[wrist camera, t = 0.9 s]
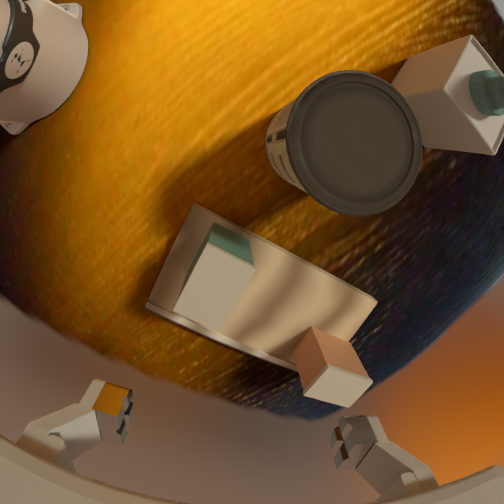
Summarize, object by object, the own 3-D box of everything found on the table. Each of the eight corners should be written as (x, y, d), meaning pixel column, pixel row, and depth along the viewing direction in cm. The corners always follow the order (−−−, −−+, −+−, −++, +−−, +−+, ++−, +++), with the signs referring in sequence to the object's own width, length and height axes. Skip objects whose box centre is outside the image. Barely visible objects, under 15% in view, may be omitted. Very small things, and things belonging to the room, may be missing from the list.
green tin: (185, 273, 34) (172, 310, 26) (213, 220, 32) (206, 244, 24) (222, 291, 35) (219, 332, 27) (251, 240, 33) (257, 270, 25)
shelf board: (147, 301, 37) (144, 308, 35) (194, 202, 33) (192, 205, 31) (315, 372, 42) (318, 379, 40) (373, 297, 38) (378, 303, 37)
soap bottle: (451, 101, 30) (562, 97, 12) (424, 148, 32) (543, 165, 14) (408, 56, 28) (515, 19, 10) (377, 102, 30) (494, 81, 12)
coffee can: (369, 137, 32) (443, 138, 18) (320, 206, 34) (371, 244, 21) (299, 81, 29) (342, 41, 16) (245, 153, 32) (254, 156, 18)
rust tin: (311, 325, 37) (328, 367, 30) (351, 342, 39) (373, 382, 31) (291, 351, 39) (303, 395, 31) (331, 366, 40) (348, 408, 32)
